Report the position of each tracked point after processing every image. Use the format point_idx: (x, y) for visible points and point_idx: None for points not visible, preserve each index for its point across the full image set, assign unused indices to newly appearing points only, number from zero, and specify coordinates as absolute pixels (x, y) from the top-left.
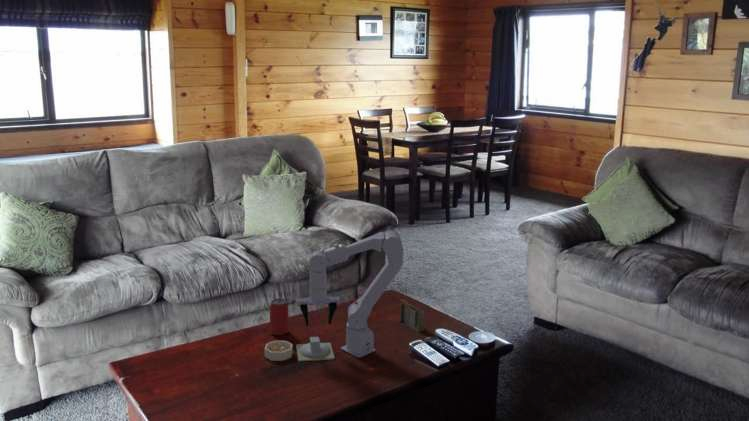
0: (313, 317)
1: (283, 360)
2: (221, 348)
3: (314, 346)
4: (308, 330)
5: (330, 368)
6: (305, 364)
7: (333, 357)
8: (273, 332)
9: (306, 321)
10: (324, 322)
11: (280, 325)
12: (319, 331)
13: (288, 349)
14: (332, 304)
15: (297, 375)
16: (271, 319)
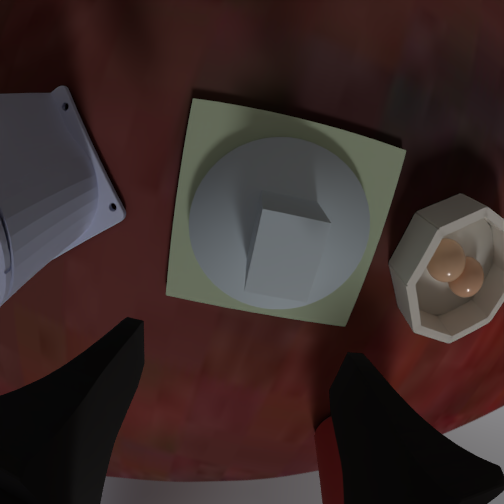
0: (194, 466)
1: (456, 195)
2: None
3: (300, 207)
4: (235, 418)
5: (255, 5)
6: (378, 102)
7: (196, 106)
8: None
9: (383, 382)
10: (162, 439)
11: None
12: (193, 401)
13: (451, 230)
14: (10, 500)
15: (441, 20)
16: None
